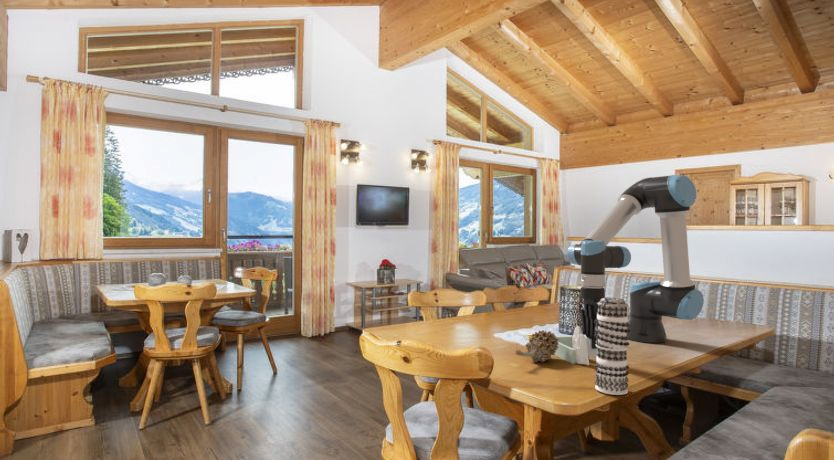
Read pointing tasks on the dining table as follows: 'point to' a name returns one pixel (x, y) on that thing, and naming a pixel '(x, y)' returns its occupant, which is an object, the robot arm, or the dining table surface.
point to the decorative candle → (612, 346)
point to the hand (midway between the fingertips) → (592, 357)
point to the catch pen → (566, 348)
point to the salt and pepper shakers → (580, 346)
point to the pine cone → (540, 346)
